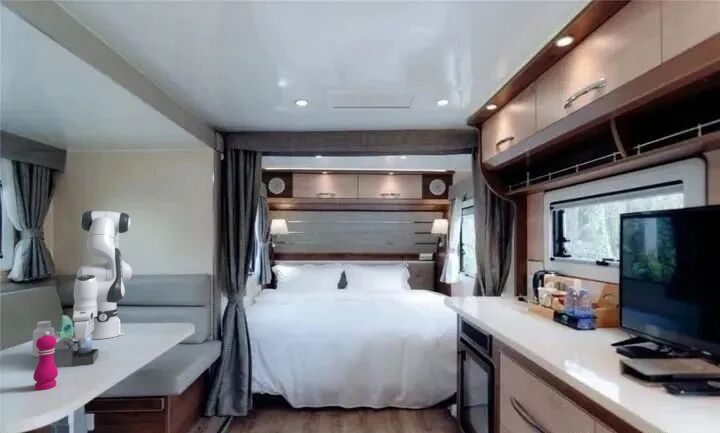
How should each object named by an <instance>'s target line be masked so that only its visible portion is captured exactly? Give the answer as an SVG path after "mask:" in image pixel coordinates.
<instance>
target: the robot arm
mask: <svg viewBox="0 0 720 433" xmlns="http://www.w3.org/2000/svg"><path fill="white" fill-rule="evenodd" d="M79 222H80V226H81V229H82V230H83V231H86V232H88V234H87V241H86V248H87V250H88V252H89V253H90V254H91V255H92V256H94V257H96V258H99V259H102V260H104V261H106V263H89V264H85V265H81V266H80V267H79V268H78V270H77V271H76V272H77V273H76V279H75V281H74V287H73V301H74V303H73V308H72V309H73V310H72V311H73V314H72V322H74V324H73V326H74V328H73V329H74V338H75V340H77V341H78V340H79V339H80V343H81V348H84V347H86V337H87V336H88V335H89V334H92V340H101V339H109V338H110V339H111V338H115V337H119V336H123V335H125V331H124V329H123V328H122V325H121V319H120V318H119V317H118V313H119V312H118V307H117V304H118V303H119V302H121V300H122V299H124V297H125V295H126V294H125V293H126V288H125V283H124V282H128V281H130V279H131V278H132V276H133V268H132V266H131V265H130V264H129V263H127V262H126V261H125V260H123V259H122V254H121V250H120V234H124V233H127V232H128V231H129V229H130V227H131V225H132V220H131V217H130V215H129V214H128V213H125V212H117V211H110V210H107V211H106V210H105V211H104V210H96V211H95V210H94V211H93V210H87V211H83V213H82V215H81V217H80V221H79Z"/></svg>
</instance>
